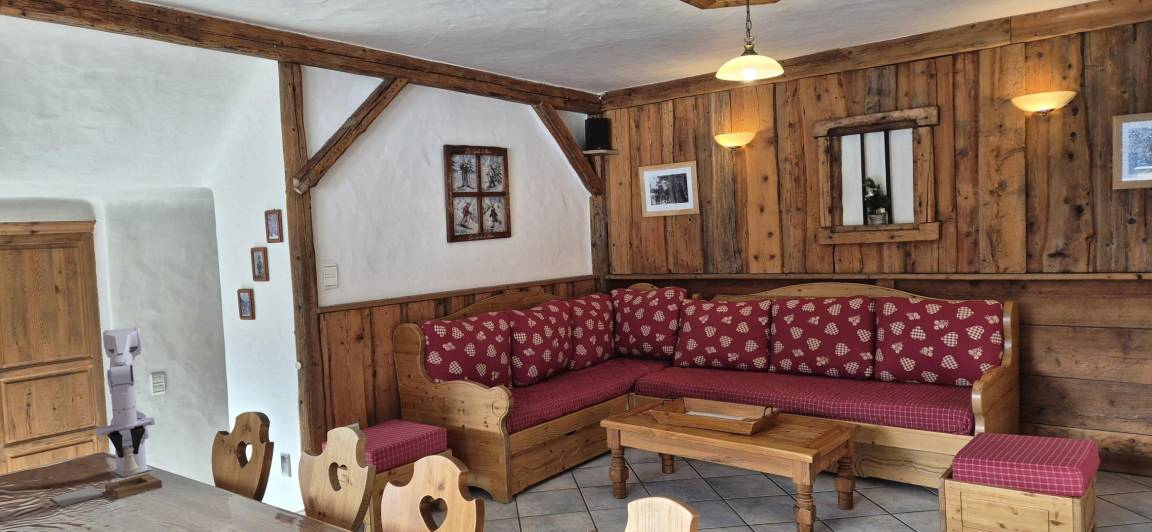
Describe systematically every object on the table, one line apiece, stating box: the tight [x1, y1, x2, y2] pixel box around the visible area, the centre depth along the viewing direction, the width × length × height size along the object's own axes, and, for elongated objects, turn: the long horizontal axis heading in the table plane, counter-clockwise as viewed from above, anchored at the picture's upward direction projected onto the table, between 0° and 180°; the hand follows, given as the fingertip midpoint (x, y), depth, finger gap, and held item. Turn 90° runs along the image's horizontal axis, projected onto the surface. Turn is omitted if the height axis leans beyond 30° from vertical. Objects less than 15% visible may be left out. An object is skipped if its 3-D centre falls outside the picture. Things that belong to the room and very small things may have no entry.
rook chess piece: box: [122, 445, 140, 477], centre depth 214 cm, size 4×4×8 cm
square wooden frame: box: [104, 473, 163, 500], centre depth 214 cm, size 11×11×2 cm
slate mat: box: [50, 486, 104, 508], centre depth 210 cm, size 10×10×1 cm
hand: (128, 455), depth 214 cm, fingers closed on rook chess piece, 3 cm apart
